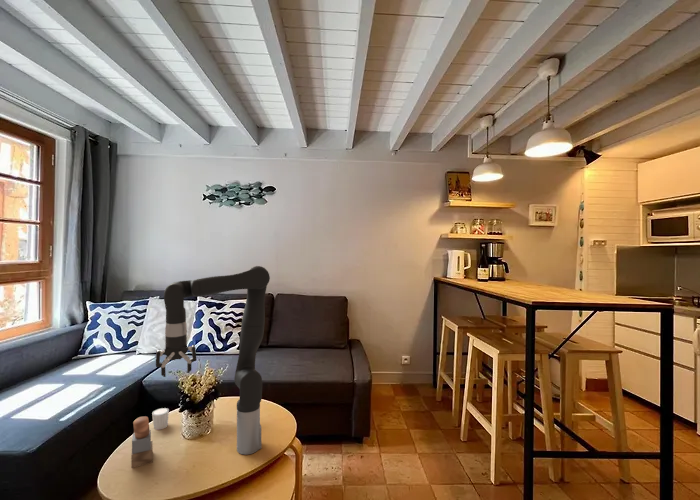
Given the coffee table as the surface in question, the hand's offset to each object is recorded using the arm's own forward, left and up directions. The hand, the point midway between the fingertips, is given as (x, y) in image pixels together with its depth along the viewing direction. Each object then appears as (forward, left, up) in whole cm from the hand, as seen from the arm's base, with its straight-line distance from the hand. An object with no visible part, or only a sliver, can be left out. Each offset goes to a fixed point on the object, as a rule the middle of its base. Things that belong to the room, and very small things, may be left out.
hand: (176, 374), depth 141 cm
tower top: (+12, -4, -28) cm, 31 cm away
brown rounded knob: (+12, -4, -23) cm, 26 cm away
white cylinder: (+5, -28, -33) cm, 44 cm away
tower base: (+12, -4, -33) cm, 36 cm away
